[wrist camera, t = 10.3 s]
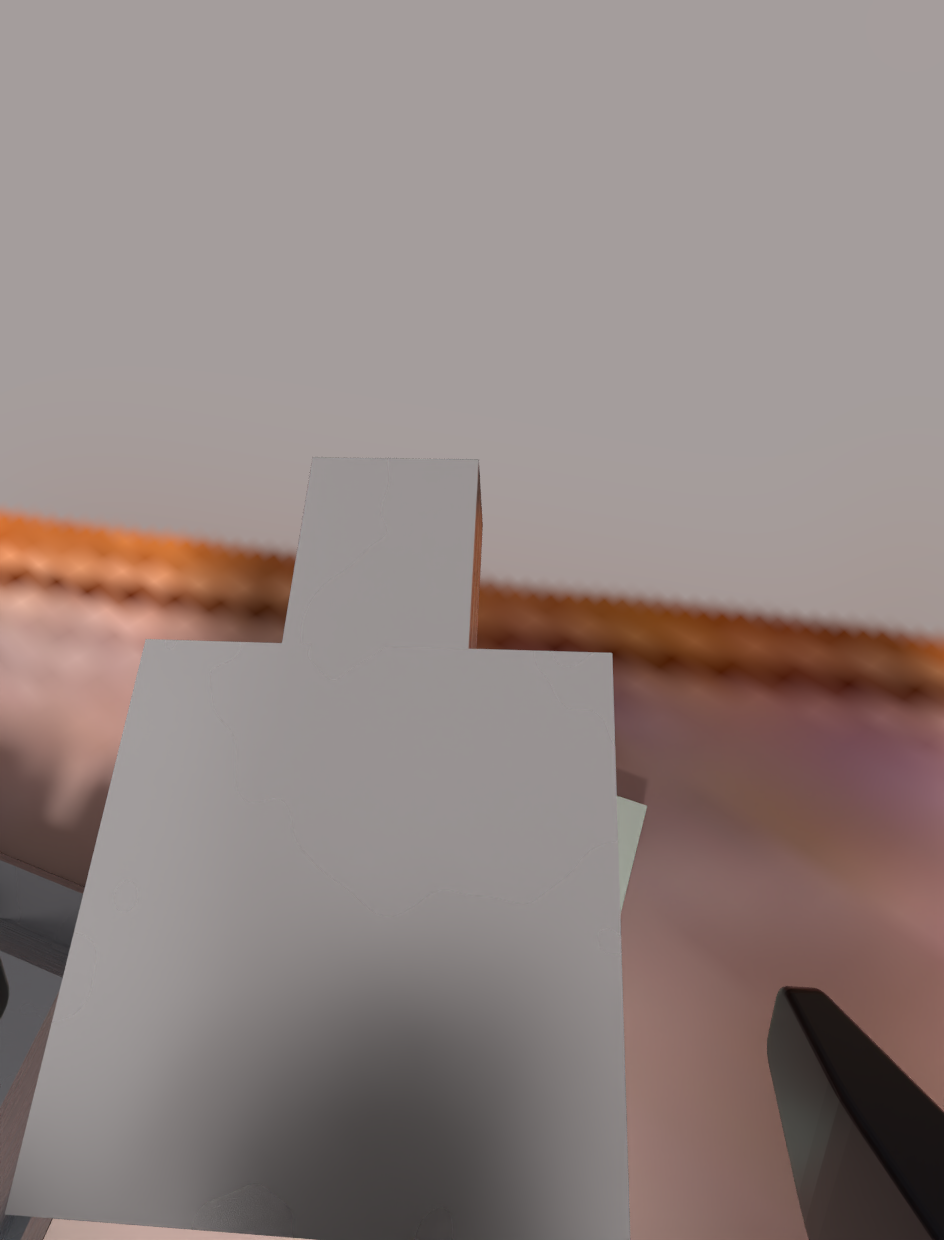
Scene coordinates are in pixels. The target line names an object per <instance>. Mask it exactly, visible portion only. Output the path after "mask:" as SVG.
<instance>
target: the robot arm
mask: <svg viewBox="0 0 944 1240" xmlns="http://www.w3.org/2000/svg"><path fill="white" fill-rule="evenodd" d="M9 991H10V988H9V983H8V980H7V977H6V974H5V970H4V967H3V964H2V960H1V957H0V1020H1V1018H2V1016H3V1014H4V1012H5V1009H6V1007H7V1004H8V1000H9ZM767 1055H768V1062H769V1067H770V1072H771V1076H772V1081H773V1085H774V1090H775V1095H776V1099H777V1104H778V1108H779V1113H780V1117H781V1122H782V1127H783V1131H784V1136H785V1140H786V1145H787V1149H788V1154H789V1159H790V1163H791V1168H792V1172H793V1177H794V1181H795V1186H796V1191H797V1195H798V1199H799V1204H800V1208H801V1212H802V1216H803V1221H804V1225H805V1228H806V1232H807V1235H808V1238H809V1240H944V1111H943V1110H942V1109H941V1108H940V1107H939V1106H938V1105H937V1104H936V1103H935V1102H934V1101H933V1100H932V1099H931V1098H930V1097H929V1096H928V1095H927V1094H926V1093H925V1092H924V1091H923V1090H922V1089H921V1088H920V1087H919V1086H918V1085H917V1084H916V1083H915V1082H914V1081H913V1080H912V1079H911V1078H910V1077H909V1076H908V1075H907V1074H906V1073H905V1072H904V1071H903V1070H902V1069H901V1068H900V1067H899V1066H898V1065H897V1064H896V1063H895V1062H894V1061H893V1060H892V1059H891V1058H890V1057H889V1056H887V1055H886V1054H885V1053H884V1052H883V1051H882V1050H881V1049H880V1048H879V1047H878V1046H877V1045H876V1044H875V1043H874V1042H873V1041H872V1040H871V1039H870V1038H869V1037H868V1036H867V1035H866V1034H865V1033H864V1032H863V1031H862V1030H861V1029H860V1028H859V1027H858V1026H857V1025H856V1024H855V1023H854V1022H853V1021H852V1020H851V1019H850V1018H849V1017H848V1016H847V1015H846V1014H845V1013H844V1012H843V1011H842V1010H841V1009H840V1008H839V1007H838V1006H837V1005H836V1004H835V1003H834V1002H833V1001H832V1000H831V999H830V998H829V997H828V996H827V995H826V994H825V993H824V992H822V991H821V990H819V989H816V988H809V987H792V986H785V987H782V988H781V989H780V990H779V991H778V994H777V997H776V1001H775V1006H774V1010H773V1015H772V1020H771V1024H770V1029H769V1034H768V1039H767Z"/></svg>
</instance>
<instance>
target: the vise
mask: <svg viewBox="0 0 944 1240" xmlns="http://www.w3.org/2000/svg"><path fill="white" fill-rule="evenodd" d="M84 889H85V887H83V886H81V885H78V884H76V883H73V882H71V881H69V880H66V879H64V878H61V877H59V876H56V875H54V874H51V873H49V872H46V871H44V870H42V869H39V868H37V867H34V866H32V865H29V864H27V863H24V862H22V861H19V860H17V859H14V858H12V857H10V856H7V855H5V854H2V853H0V957H1V960H2V964H3V967H4V970H5V974H6V977H7V980H8V983H9V988H10V991H9V1000H8V1004H7V1007H6V1009H5V1012H4V1014H3V1016H2V1018H1V1020H0V1240H42V1239H43V1237H44V1235H45V1233H46V1231H47V1229H48V1226H49V1224H50V1222H51V1220H52V1218H42V1217H29V1216H17V1215H5V1211H6V1207H7V1203H8V1199H9V1195H10V1190H11V1186H12V1182H13V1178H14V1174H15V1170H16V1166H17V1162H18V1158H19V1154H20V1150H21V1146H22V1142H23V1138H24V1133H25V1129H26V1125H27V1121H28V1117H29V1113H30V1109H31V1105H32V1101H33V1097H34V1093H35V1089H36V1085H37V1081H38V1076H39V1072H40V1068H41V1064H42V1060H43V1056H44V1052H45V1048H46V1044H47V1040H48V1036H49V1032H50V1028H51V1023H52V1019H53V1015H54V1011H55V1007H56V1003H57V999H58V995H59V991H60V987H61V983H62V979H63V975H64V971H65V966H66V962H67V958H68V954H69V950H70V946H71V942H72V938H73V934H74V930H75V926H76V922H77V918H78V914H79V909H80V905H81V901H82V897H83V893H84Z"/></svg>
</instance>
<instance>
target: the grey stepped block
mask: <svg viewBox="0 0 944 1240" xmlns="http://www.w3.org/2000/svg"><path fill="white" fill-rule="evenodd" d="M482 527H483V524H482V507H481V490H480V473H479V460H477V459H474V460H473V459H404V458H400V459H399V458H327V457H313V458H312V464H311V470H310V476H309V482H308V488H307V494H306V500H305V506H304V512H303V519H302V525H301V531H300V537H299V543H298V549H297V555H296V561H295V567H294V573H293V579H292V585H291V591H290V597H289V603H288V609H287V616H286V622H285V628H284V634H283V640H282V643H259V642H225V641H191V640H157V639H146V641H145V645H144V649H143V653H142V657H141V661H140V665H139V669H138V673H137V677H136V681H135V685H134V690H133V694H132V698H131V702H130V706H129V710H128V714H127V718H126V722H125V726H124V730H123V734H122V738H121V742H120V747H119V751H118V755H117V759H116V763H115V767H114V771H113V775H112V779H111V783H110V787H109V791H108V795H107V799H106V804H105V808H104V812H103V816H102V820H101V824H100V828H99V832H98V836H97V840H96V844H95V848H94V852H93V856H92V861H91V865H90V869H89V873H88V877H87V881H86V885H85V889H84V893H83V897H82V901H81V905H80V909H79V914H78V918H77V922H76V926H75V930H74V934H73V938H72V942H71V946H70V950H69V954H68V958H67V962H66V966H65V971H64V975H63V979H62V983H61V987H60V991H59V995H58V999H57V1003H56V1007H55V1011H54V1015H53V1019H52V1023H51V1028H50V1032H49V1036H48V1040H47V1044H46V1048H45V1052H44V1056H43V1060H42V1064H41V1068H40V1072H39V1076H38V1081H37V1085H36V1089H35V1093H34V1097H33V1101H32V1105H31V1109H30V1113H29V1117H28V1121H27V1125H26V1129H25V1133H24V1138H23V1142H22V1146H21V1150H20V1154H19V1158H18V1162H17V1166H16V1170H15V1174H14V1178H13V1182H12V1186H11V1190H10V1195H9V1199H8V1203H7V1207H6V1211H5V1215H17V1216H29V1217H42V1218H54V1219H67V1220H79V1221H92V1222H104V1223H117V1224H129V1225H142V1226H154V1227H167V1228H179V1229H191V1230H204V1231H216V1232H229V1233H241V1234H254V1235H266V1236H279V1237H291V1238H304V1239H316V1240H630V1212H629V1179H628V1147H627V1114H626V1082H625V1049H624V1016H623V984H622V951H621V919H620V886H619V854H618V821H617V789H616V756H615V724H614V691H613V659H612V653H599V652H565V651H531V650H497V649H477V629H478V608H479V588H480V568H481V547H482Z"/></svg>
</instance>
